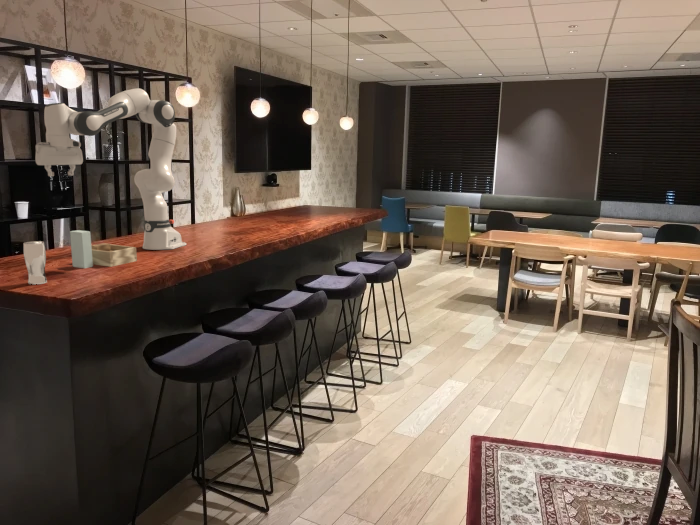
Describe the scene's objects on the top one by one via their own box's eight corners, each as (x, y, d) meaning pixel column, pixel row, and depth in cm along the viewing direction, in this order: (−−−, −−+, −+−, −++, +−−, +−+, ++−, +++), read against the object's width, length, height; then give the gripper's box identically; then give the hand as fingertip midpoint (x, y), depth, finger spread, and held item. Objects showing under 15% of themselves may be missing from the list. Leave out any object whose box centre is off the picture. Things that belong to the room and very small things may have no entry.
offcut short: (104, 249, 246) (103, 243, 245) (110, 250, 244) (110, 243, 244) (90, 252, 240) (90, 245, 239) (97, 253, 238) (96, 246, 237)
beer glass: (28, 285, 201) (23, 244, 198) (25, 282, 207) (21, 242, 204) (49, 283, 205) (46, 243, 202) (46, 279, 211) (43, 240, 208)
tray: (107, 259, 251) (106, 243, 250) (137, 263, 243) (136, 247, 242) (80, 264, 239) (79, 248, 237) (111, 269, 231) (109, 252, 230)
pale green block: (81, 265, 234) (78, 230, 231) (93, 267, 231) (90, 231, 228) (72, 267, 230) (69, 231, 227) (84, 269, 227) (81, 232, 224)
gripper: (40, 142, 224) (43, 177, 227) (84, 143, 242) (86, 175, 245) (30, 142, 226) (33, 176, 229) (73, 142, 245) (76, 174, 247)
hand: (61, 175), depth 237 cm, fingers open, 8 cm apart
